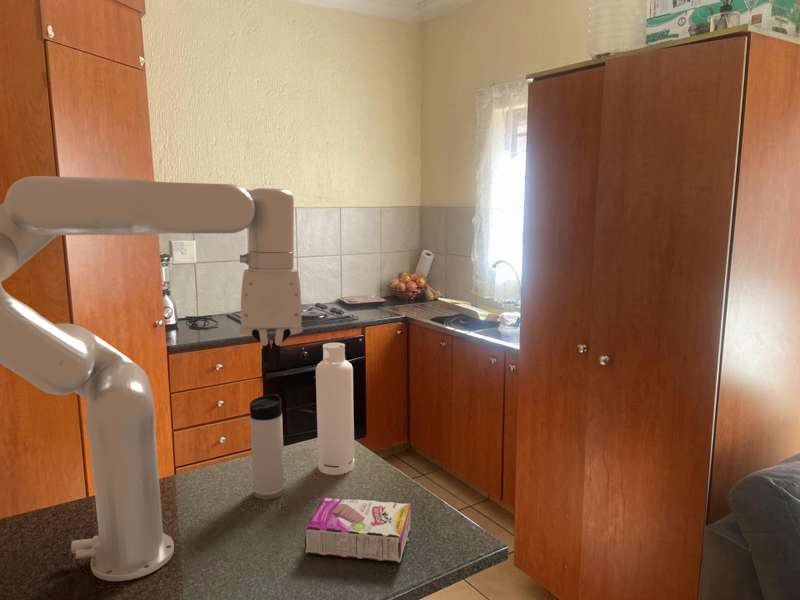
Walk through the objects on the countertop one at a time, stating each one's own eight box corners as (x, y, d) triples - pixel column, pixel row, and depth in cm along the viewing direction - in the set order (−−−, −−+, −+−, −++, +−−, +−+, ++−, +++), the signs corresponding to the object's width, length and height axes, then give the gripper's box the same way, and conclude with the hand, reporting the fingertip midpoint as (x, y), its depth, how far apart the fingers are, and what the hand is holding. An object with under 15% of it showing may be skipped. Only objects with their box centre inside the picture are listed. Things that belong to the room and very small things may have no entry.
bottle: (361, 469, 129) (359, 346, 125) (327, 478, 125) (324, 351, 120) (344, 455, 136) (342, 339, 131) (312, 464, 132) (308, 343, 127)
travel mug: (292, 489, 120) (289, 396, 117) (269, 503, 115) (265, 406, 111) (270, 481, 123) (266, 391, 120) (247, 494, 118) (242, 400, 115)
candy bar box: (323, 494, 107) (411, 502, 105) (323, 519, 108) (410, 527, 105) (303, 526, 96) (401, 536, 94) (304, 554, 97) (401, 564, 94)
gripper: (224, 263, 94) (225, 373, 97) (317, 264, 98) (316, 370, 100) (226, 259, 101) (228, 362, 104) (313, 260, 105) (312, 359, 108)
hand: (271, 365), depth 102 cm, fingers closed
